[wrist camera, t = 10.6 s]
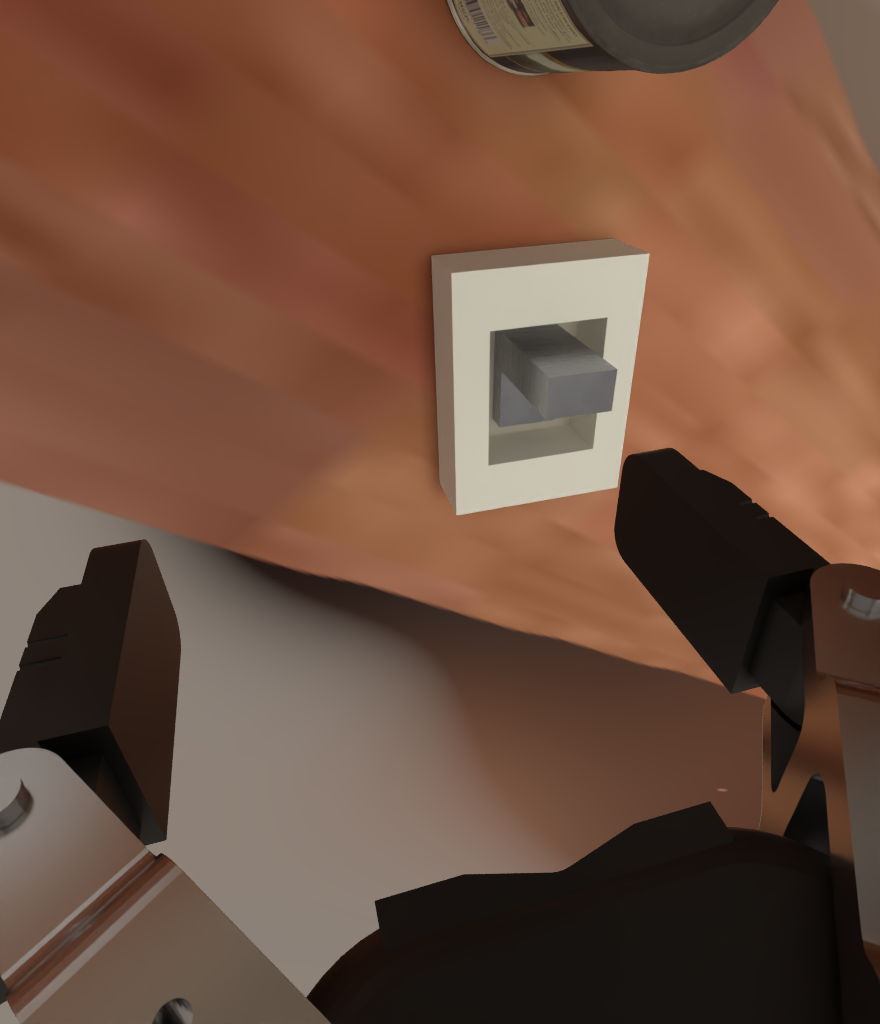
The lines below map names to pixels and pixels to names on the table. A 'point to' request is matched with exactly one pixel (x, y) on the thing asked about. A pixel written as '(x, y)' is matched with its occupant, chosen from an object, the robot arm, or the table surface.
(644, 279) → the well block
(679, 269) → the table surface
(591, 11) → the coffee can
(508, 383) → the grey rectangular block
